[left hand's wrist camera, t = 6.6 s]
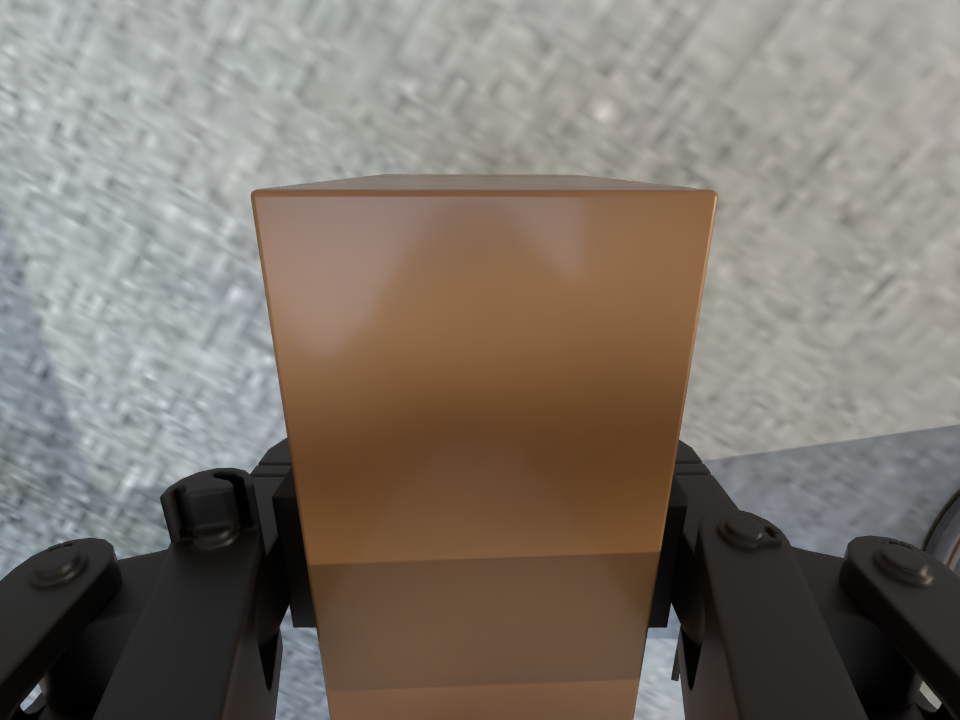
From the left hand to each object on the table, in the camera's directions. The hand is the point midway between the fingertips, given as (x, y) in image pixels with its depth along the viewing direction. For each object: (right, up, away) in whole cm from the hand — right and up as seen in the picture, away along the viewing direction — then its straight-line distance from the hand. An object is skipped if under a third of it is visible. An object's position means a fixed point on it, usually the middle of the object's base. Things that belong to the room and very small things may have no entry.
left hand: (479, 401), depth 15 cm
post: (0, -27, +11) cm, 29 cm away
